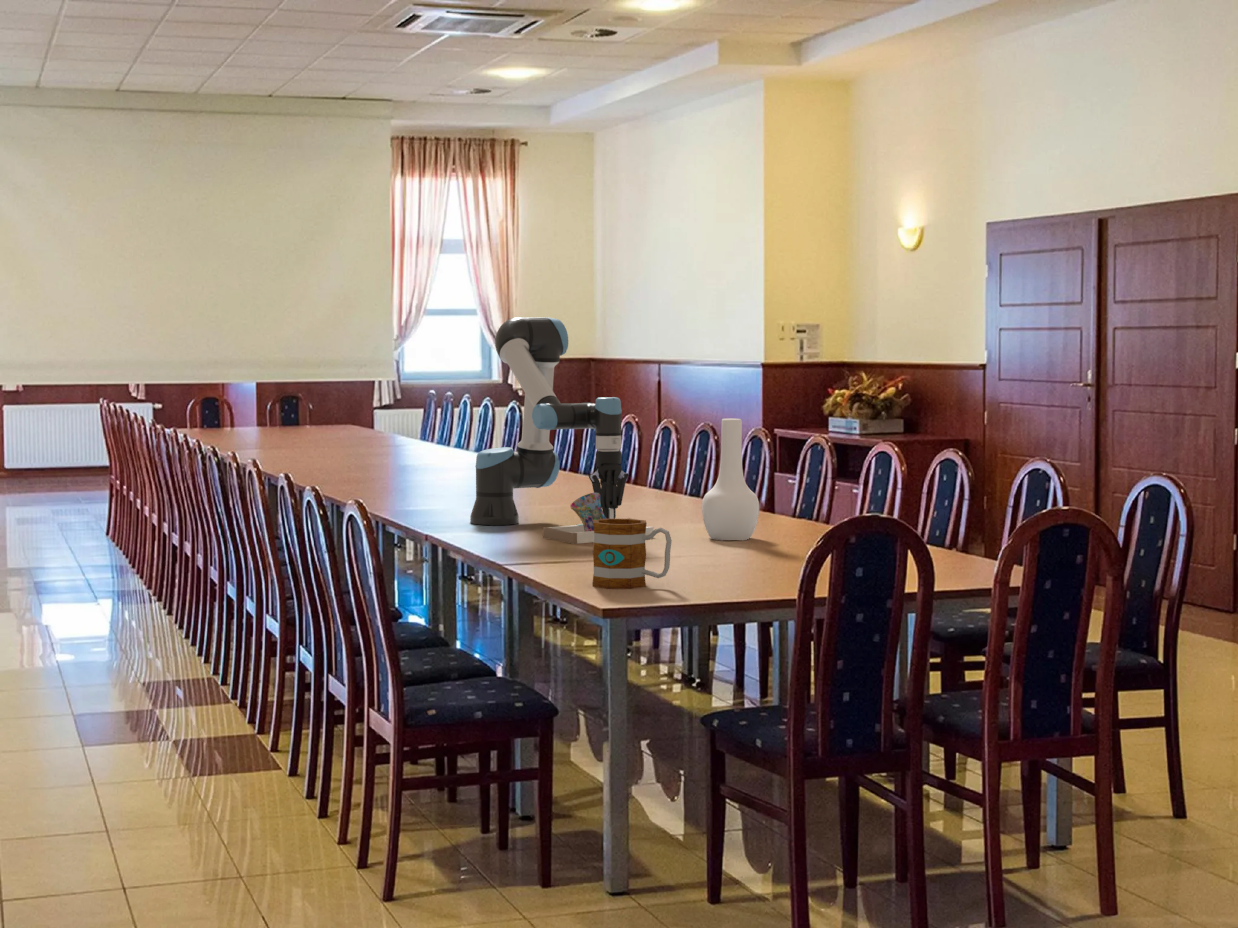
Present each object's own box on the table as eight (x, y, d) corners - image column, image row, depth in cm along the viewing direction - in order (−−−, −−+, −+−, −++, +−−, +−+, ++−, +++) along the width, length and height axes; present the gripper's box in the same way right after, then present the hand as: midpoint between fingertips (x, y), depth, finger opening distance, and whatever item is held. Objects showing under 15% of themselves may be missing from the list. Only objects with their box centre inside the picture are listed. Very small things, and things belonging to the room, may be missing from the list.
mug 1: (615, 530, 458) (601, 498, 455) (586, 543, 458) (571, 511, 455) (610, 517, 470) (596, 486, 467) (581, 530, 470) (567, 499, 467)
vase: (734, 543, 453) (736, 421, 451) (689, 538, 465) (691, 418, 462) (770, 538, 466) (772, 419, 463) (725, 533, 477) (727, 417, 474)
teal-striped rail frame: (537, 536, 466) (537, 525, 465) (615, 530, 482) (616, 520, 482) (579, 544, 448) (579, 533, 447) (659, 538, 464) (659, 527, 464)
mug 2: (581, 586, 372) (581, 523, 370) (602, 579, 384) (603, 517, 383) (661, 592, 365) (661, 527, 363) (679, 584, 377) (680, 521, 376)
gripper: (597, 451, 458) (598, 533, 460) (634, 449, 465) (634, 530, 467) (583, 450, 464) (583, 530, 466) (619, 448, 471) (619, 527, 473)
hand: (609, 530), depth 466 cm, fingers closed
